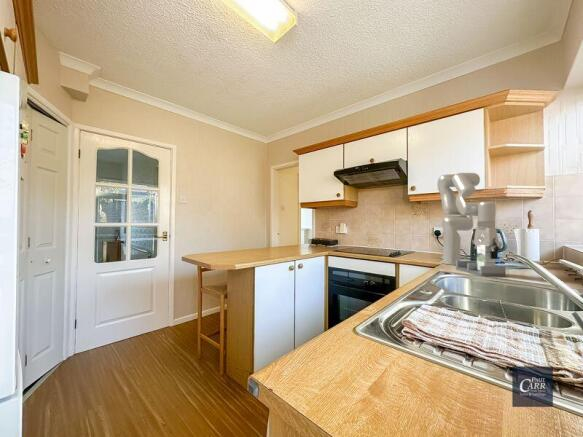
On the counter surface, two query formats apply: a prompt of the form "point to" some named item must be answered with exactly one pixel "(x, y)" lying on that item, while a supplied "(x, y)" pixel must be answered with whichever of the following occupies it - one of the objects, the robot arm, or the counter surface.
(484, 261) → the syrup box
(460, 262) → the slot rack
